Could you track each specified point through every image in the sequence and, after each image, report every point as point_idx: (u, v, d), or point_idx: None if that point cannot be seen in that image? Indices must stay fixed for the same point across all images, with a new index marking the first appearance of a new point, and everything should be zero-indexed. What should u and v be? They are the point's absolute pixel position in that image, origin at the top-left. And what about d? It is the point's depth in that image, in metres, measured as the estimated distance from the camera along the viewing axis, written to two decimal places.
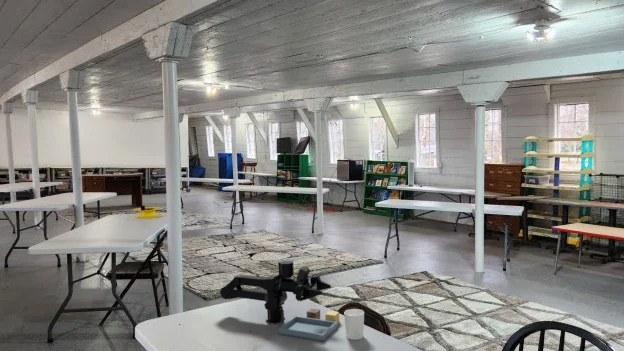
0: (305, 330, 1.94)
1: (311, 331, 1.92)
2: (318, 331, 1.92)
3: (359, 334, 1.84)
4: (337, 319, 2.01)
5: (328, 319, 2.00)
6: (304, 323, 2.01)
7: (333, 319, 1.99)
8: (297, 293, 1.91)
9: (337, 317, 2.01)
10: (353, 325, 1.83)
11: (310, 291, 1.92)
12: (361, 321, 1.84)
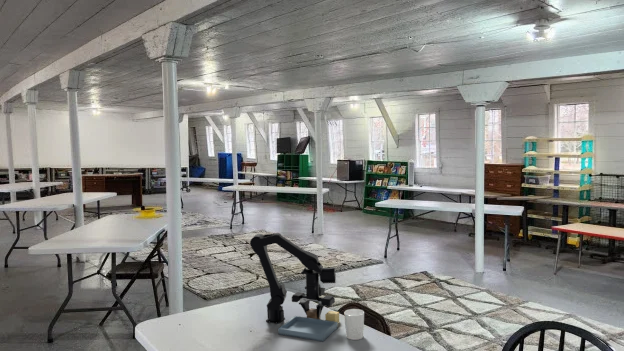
0: (305, 330, 1.94)
1: (311, 331, 1.92)
2: (318, 331, 1.92)
3: (359, 334, 1.84)
4: (337, 319, 2.01)
5: (328, 319, 2.00)
6: (304, 323, 2.01)
7: (333, 319, 1.99)
8: (332, 300, 2.02)
9: (337, 317, 2.01)
10: (353, 325, 1.83)
11: (321, 308, 2.04)
12: (361, 321, 1.84)
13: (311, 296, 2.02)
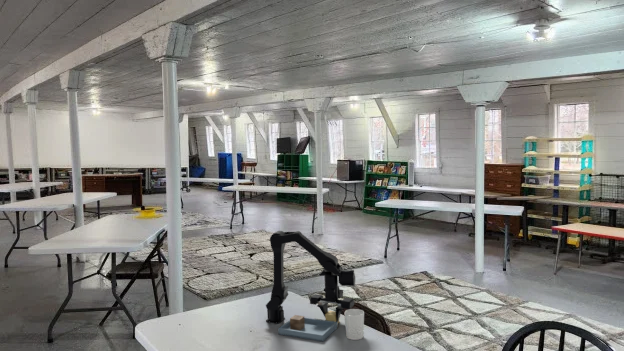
0: (305, 330, 1.94)
1: (311, 331, 1.92)
2: (318, 331, 1.92)
3: (359, 334, 1.84)
4: None
5: (328, 319, 2.00)
6: None
7: (333, 319, 1.99)
8: (352, 303, 1.98)
9: None
10: (353, 325, 1.83)
11: (340, 311, 2.01)
12: (361, 321, 1.84)
13: (330, 298, 1.99)
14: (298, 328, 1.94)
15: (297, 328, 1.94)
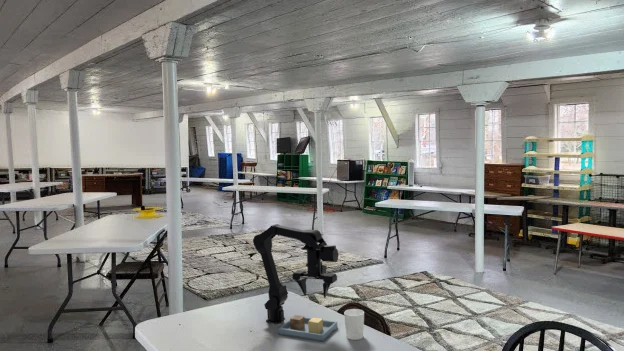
0: (305, 330, 1.94)
1: None
2: None
3: (359, 334, 1.84)
4: (321, 326, 1.92)
5: (311, 326, 1.91)
6: None
7: (316, 326, 1.90)
8: (334, 278, 1.94)
9: (321, 324, 1.92)
10: (353, 325, 1.83)
11: (327, 287, 1.96)
12: (361, 321, 1.84)
13: (313, 273, 1.95)
14: (298, 328, 1.94)
15: (297, 328, 1.94)
